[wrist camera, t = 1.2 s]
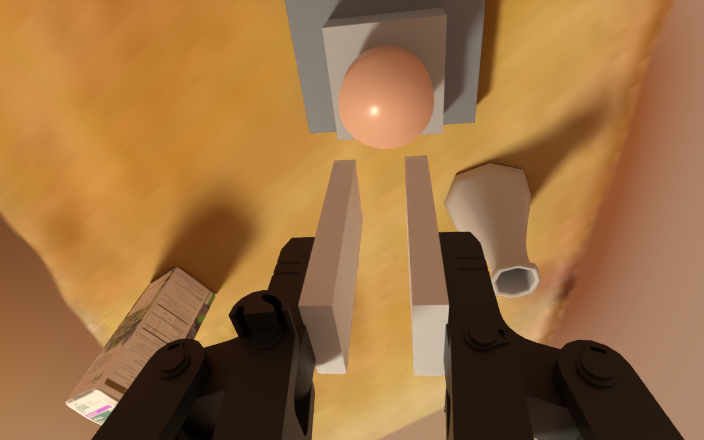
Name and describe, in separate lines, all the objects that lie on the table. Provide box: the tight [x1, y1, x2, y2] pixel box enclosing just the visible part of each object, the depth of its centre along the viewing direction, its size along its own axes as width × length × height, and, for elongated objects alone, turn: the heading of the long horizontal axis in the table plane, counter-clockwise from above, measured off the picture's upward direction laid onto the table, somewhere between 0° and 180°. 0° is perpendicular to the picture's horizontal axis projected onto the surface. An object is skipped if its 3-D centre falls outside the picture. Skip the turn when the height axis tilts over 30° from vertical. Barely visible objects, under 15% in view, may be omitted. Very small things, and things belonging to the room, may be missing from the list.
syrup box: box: [66, 267, 215, 425], centre depth 38 cm, size 6×6×14 cm
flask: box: [445, 163, 541, 298], centre depth 29 cm, size 7×7×10 cm
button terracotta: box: [338, 45, 434, 149], centre depth 22 cm, size 5×5×4 cm
